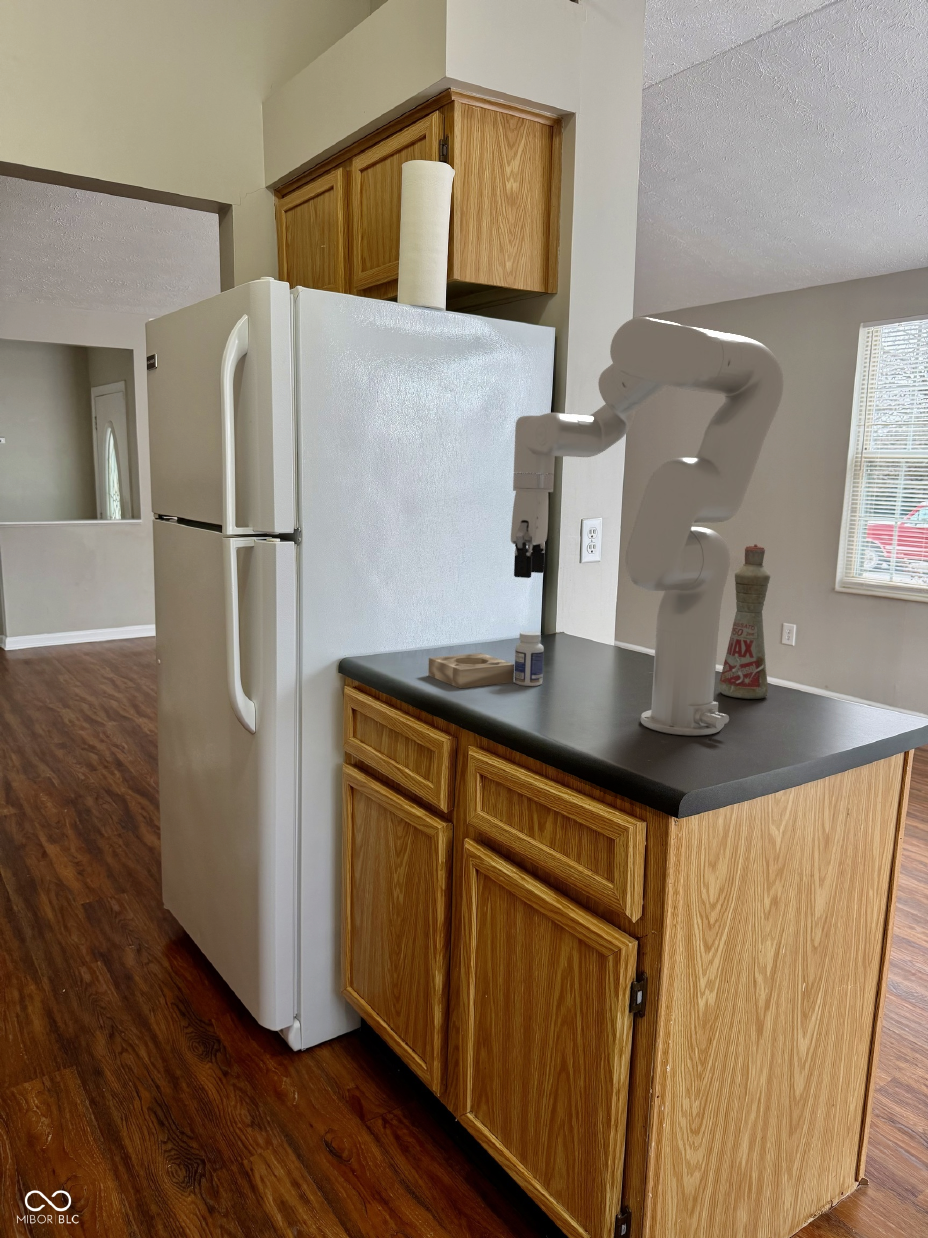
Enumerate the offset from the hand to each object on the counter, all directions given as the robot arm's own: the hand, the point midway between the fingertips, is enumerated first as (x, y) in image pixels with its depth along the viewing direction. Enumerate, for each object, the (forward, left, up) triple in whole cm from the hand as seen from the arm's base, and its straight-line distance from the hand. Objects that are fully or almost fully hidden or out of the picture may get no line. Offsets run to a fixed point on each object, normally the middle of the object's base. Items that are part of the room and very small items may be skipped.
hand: (529, 574), depth 167 cm
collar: (+6, +9, -21) cm, 23 cm away
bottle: (-27, -30, -21) cm, 46 cm away
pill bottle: (-2, +1, -21) cm, 21 cm away
